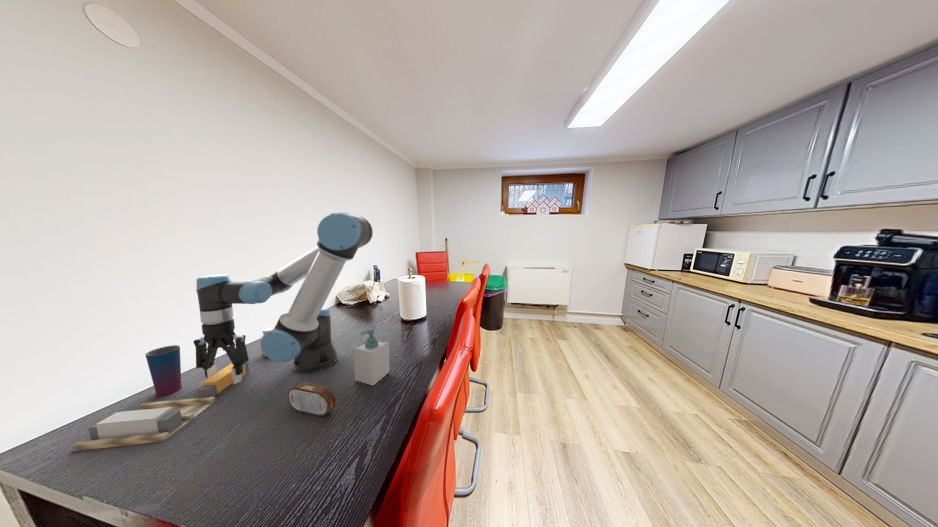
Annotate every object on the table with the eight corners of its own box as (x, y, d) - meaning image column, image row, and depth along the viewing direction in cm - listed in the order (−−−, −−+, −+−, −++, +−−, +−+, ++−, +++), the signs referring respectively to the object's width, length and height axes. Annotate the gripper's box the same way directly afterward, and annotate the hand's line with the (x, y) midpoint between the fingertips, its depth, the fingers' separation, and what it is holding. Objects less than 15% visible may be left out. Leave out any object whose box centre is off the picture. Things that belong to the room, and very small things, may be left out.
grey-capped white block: (183, 422, 65) (180, 406, 64) (167, 435, 61) (164, 417, 60) (110, 430, 62) (107, 412, 62) (89, 443, 58) (85, 425, 58)
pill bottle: (261, 359, 99) (259, 333, 97) (262, 353, 104) (259, 328, 102) (281, 355, 103) (279, 329, 101) (281, 349, 108) (279, 325, 106)
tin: (337, 412, 71) (335, 386, 70) (328, 420, 68) (327, 393, 67) (296, 403, 74) (294, 378, 73) (286, 410, 71) (284, 384, 70)
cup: (162, 402, 74) (154, 356, 72) (146, 398, 75) (139, 354, 73) (191, 388, 80) (185, 346, 79) (176, 385, 82) (170, 344, 80)
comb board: (215, 403, 74) (214, 396, 73) (164, 443, 59) (163, 435, 59) (145, 409, 71) (144, 402, 70) (73, 454, 56) (71, 445, 56)
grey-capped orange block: (238, 372, 90) (236, 359, 89) (250, 371, 91) (248, 359, 90) (198, 401, 74) (196, 386, 74) (212, 400, 75) (211, 385, 74)
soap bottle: (354, 381, 85) (351, 331, 83) (372, 368, 94) (370, 322, 91) (372, 387, 82) (370, 335, 80) (389, 373, 90) (388, 326, 88)
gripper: (258, 315, 85) (264, 375, 88) (194, 318, 82) (203, 380, 84) (242, 323, 78) (249, 388, 80) (171, 326, 74) (181, 394, 77)
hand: (225, 384), depth 82 cm, fingers open, 6 cm apart
